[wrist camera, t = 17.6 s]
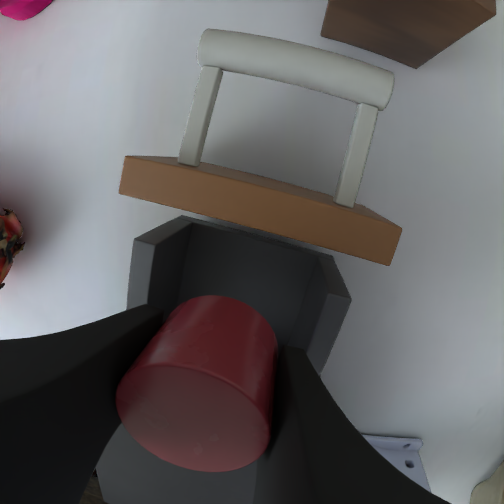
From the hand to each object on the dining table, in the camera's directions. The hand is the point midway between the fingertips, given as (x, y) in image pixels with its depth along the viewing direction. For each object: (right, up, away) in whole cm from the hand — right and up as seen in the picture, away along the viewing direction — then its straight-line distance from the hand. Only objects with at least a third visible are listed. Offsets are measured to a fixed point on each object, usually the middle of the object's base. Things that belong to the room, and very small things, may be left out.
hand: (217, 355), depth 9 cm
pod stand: (+7, +15, +2) cm, 17 cm away
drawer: (+1, +4, +5) cm, 7 cm away
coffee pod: (0, 0, 0) cm, 0 cm away
